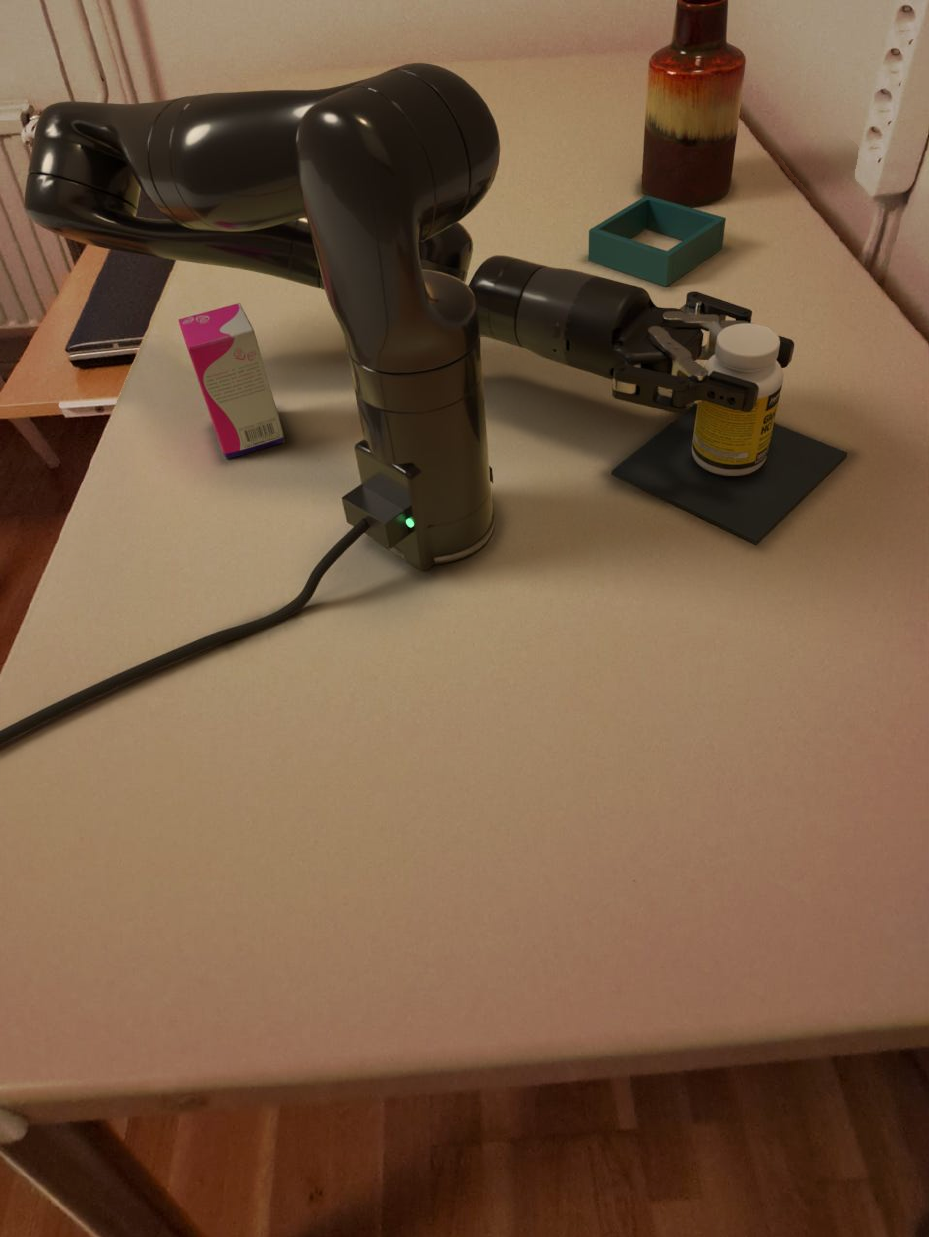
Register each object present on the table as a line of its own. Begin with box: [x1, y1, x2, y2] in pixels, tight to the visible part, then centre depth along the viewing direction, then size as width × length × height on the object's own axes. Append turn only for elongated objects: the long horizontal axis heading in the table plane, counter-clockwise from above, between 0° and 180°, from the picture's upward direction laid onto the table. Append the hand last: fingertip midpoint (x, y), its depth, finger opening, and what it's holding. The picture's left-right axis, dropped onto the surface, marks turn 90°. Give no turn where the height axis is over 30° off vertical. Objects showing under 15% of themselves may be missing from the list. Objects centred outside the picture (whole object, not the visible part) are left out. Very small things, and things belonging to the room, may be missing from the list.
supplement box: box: [178, 302, 286, 460], centre depth 84 cm, size 6×6×12 cm
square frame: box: [587, 195, 727, 288], centre depth 104 cm, size 11×11×4 cm
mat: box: [610, 403, 848, 545], centre depth 79 cm, size 14×14×1 cm
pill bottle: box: [692, 323, 784, 476], centre depth 75 cm, size 6×6×11 cm
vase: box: [640, 0, 747, 208], centre depth 109 cm, size 11×11×20 cm
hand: (772, 376), depth 72 cm, fingers closed on pill bottle, 6 cm apart
